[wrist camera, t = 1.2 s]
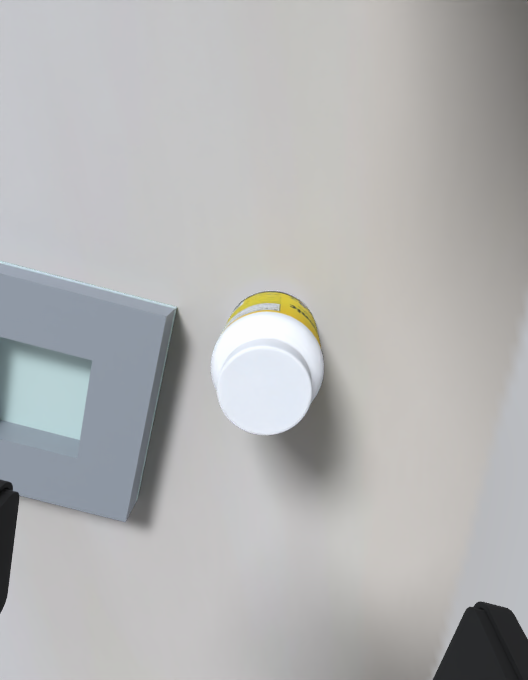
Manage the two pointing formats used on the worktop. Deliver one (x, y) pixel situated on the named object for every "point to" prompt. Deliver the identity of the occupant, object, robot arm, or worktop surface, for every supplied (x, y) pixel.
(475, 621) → the robot arm
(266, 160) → the worktop surface
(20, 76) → the worktop surface
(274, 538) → the worktop surface
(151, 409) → the holder block
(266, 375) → the supplement bottle
